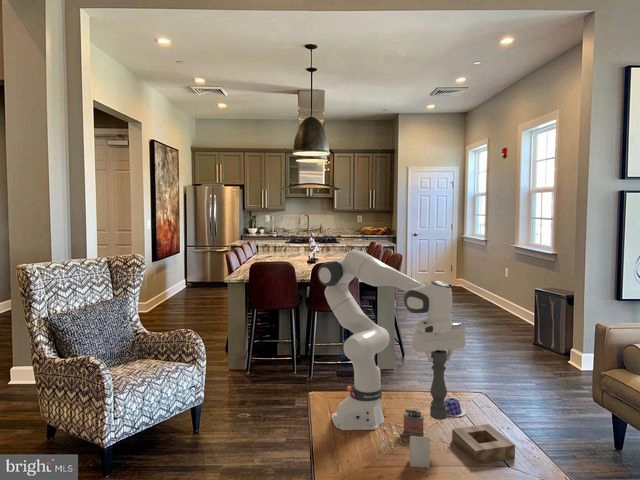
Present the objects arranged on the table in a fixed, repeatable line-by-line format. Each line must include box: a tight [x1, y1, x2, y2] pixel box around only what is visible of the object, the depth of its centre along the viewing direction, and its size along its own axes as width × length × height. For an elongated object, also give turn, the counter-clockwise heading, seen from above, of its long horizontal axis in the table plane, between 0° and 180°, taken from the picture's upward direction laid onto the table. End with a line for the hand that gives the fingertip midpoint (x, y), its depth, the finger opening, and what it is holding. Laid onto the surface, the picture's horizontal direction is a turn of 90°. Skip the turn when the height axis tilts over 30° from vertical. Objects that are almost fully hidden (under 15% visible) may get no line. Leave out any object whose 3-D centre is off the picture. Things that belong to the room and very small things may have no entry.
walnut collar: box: [451, 423, 516, 465], centre depth 166 cm, size 16×16×5 cm
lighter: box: [402, 408, 425, 437], centre depth 178 cm, size 8×3×10 cm, turn 71°
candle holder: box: [429, 350, 448, 421], centre depth 167 cm, size 6×6×25 cm
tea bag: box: [409, 435, 431, 469], centre depth 157 cm, size 4×7×10 cm, turn 81°
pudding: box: [444, 397, 467, 417], centre depth 197 cm, size 12×12×5 cm
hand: (438, 360), depth 166 cm, fingers closed on candle holder, 5 cm apart
